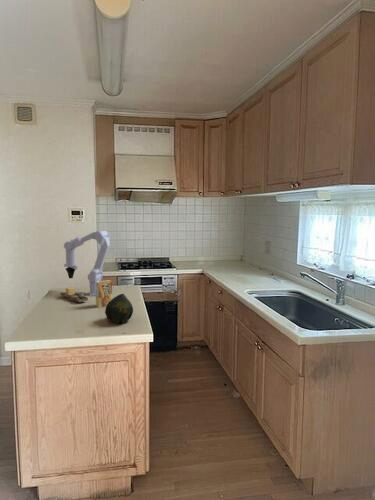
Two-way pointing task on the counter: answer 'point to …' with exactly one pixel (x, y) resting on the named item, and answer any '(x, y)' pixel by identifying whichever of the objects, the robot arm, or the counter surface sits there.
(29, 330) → the counter surface
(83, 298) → the gnarled wood piece
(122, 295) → the squash
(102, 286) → the candy box
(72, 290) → the rider
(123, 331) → the counter surface
